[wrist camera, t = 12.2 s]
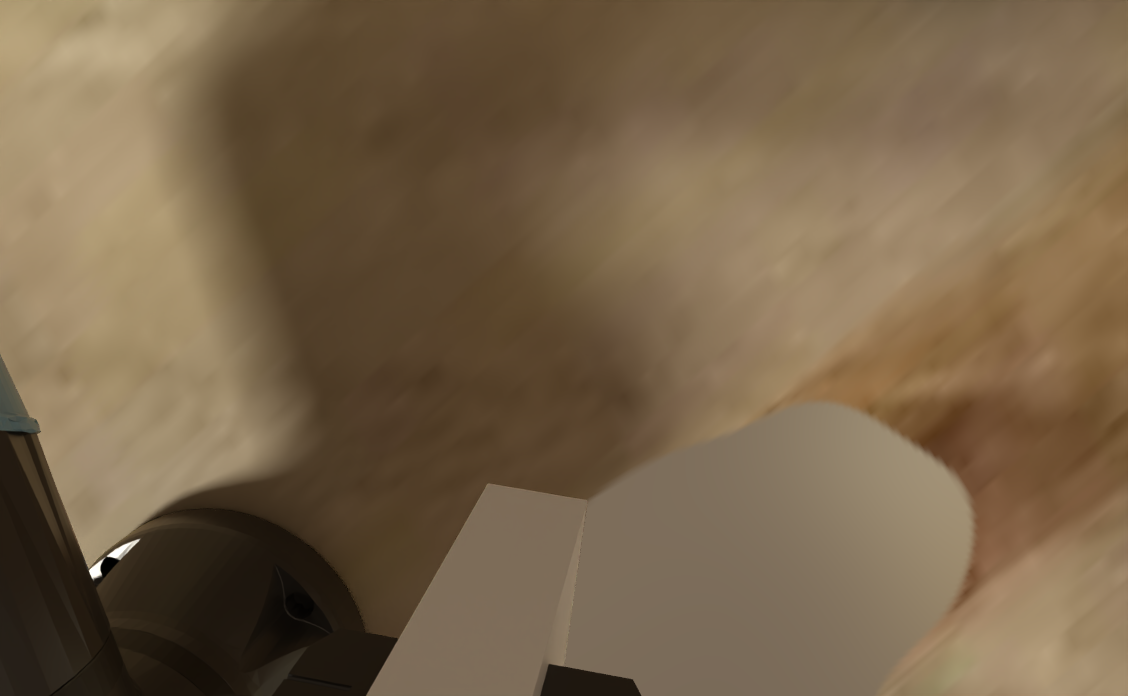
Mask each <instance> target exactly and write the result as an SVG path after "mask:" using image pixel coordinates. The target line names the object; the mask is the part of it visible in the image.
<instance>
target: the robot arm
mask: <svg viewBox="0 0 1128 696" xmlns="http://www.w3.org/2000/svg"><path fill="white" fill-rule="evenodd" d="M40 432H41V431H40V428H39V424H38V422H37V420H36V419H34V418H31V417H29V415H28V412H27V410H26V408H25V406H24V404H23V402H22V400H21V398H20V395H19V393H18V391H17V389H16V387H15V385H14V383H13V380H12V378H11V376H10V374H9V372H8V370H7V368H6V366H5V363H4V361H3V359H2V357H1V355H0V696H641V694H640V692H639V690H638V688H637V687H636V685H635V683H634V681H633V680H632V679H627V678H622V677H617V676H611V675H606V674H601V673H595V672H590V671H584V670H579V669H573V668H568V667H564V663H565V656H566V649H567V642H568V635H569V627H570V621H571V614H572V607H573V600H574V593H575V586H576V578H577V572H578V565H579V558H580V550H581V543H582V537H583V530H584V523H585V516H586V509H587V502H588V500H584V499H578V498H572V497H566V496H560V495H554V494H549V493H543V492H537V491H531V490H525V489H519V488H513V487H507V486H502V485H496V484H490V483H488V484H487V485H486V487H485V489H484V491H483V492H482V494H481V496H480V498H479V499H478V501H477V503H476V505H475V506H474V508H473V510H472V512H471V513H470V515H469V517H468V519H467V520H466V522H465V524H464V526H463V527H462V529H461V531H460V533H459V534H458V536H457V538H456V540H455V541H454V543H453V545H452V547H451V548H450V550H449V552H448V554H447V555H446V557H445V559H444V561H443V562H442V564H441V566H440V568H439V569H438V571H437V573H436V575H435V576H434V578H433V580H432V582H431V583H430V585H429V587H428V588H427V590H426V592H425V594H424V595H423V597H422V599H421V601H420V602H419V604H418V606H417V608H416V609H415V611H414V613H413V615H412V616H411V618H410V620H409V622H408V623H407V625H406V627H405V629H404V630H403V632H402V634H401V636H400V637H399V639H397V638H392V637H386V636H381V635H376V634H370V633H365V630H364V627H363V623H362V620H361V618H360V615H359V612H358V610H357V608H356V605H355V603H354V601H353V599H352V597H351V596H350V594H349V592H348V590H347V589H346V587H345V586H344V584H343V583H342V581H341V580H340V578H339V577H338V576H337V574H336V573H335V572H334V571H333V570H332V568H331V567H330V566H329V565H328V564H327V563H326V562H325V561H324V560H323V559H322V558H321V557H320V556H319V555H318V554H317V553H316V552H315V551H314V550H313V549H311V548H310V547H309V546H308V545H307V544H305V543H304V542H303V541H301V540H300V539H298V538H297V537H296V536H294V535H292V534H291V533H289V532H287V531H286V530H284V529H282V528H280V527H278V526H276V525H274V524H272V523H270V522H267V521H265V520H262V519H260V518H257V517H254V516H251V515H247V514H244V513H239V512H235V511H228V510H221V509H193V510H185V511H179V512H175V513H171V514H167V515H164V516H161V517H159V518H156V519H154V520H152V521H149V522H148V523H146V524H144V525H142V526H140V527H139V528H137V529H136V530H134V531H133V532H131V533H130V534H129V535H127V536H126V537H125V538H123V539H122V540H120V541H119V542H118V543H116V544H115V545H114V546H112V547H111V548H110V549H109V550H107V551H106V552H105V553H104V554H103V555H102V556H100V557H99V558H98V559H97V560H96V562H95V563H94V564H93V565H92V566H91V567H90V568H89V569H88V567H87V564H86V562H85V559H84V556H83V554H82V551H81V549H80V546H79V544H78V541H77V539H76V536H75V533H74V531H73V528H72V526H71V523H70V521H69V518H68V516H67V513H66V510H65V508H64V505H63V503H62V500H61V498H60V495H59V493H58V490H57V488H56V485H55V482H54V480H53V477H52V474H51V472H50V469H49V466H48V464H47V461H46V458H45V455H44V453H43V450H42V447H41V444H40V442H39V439H38V436H37V434H38V433H40Z"/></svg>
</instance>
